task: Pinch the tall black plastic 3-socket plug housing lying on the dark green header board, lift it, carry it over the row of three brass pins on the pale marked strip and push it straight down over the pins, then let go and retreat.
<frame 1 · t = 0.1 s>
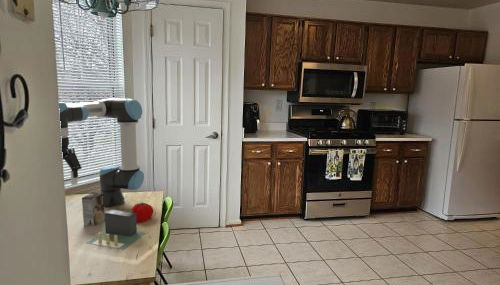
hand: (62, 183, 151), 28 cm above the table, fingers open, 13 cm apart
board: (117, 240, 156), on the table
housing: (121, 232, 162), point 1 cm above the table, touching board
tomato: (142, 221, 180), on the table
coffee box: (94, 224, 174), on the table
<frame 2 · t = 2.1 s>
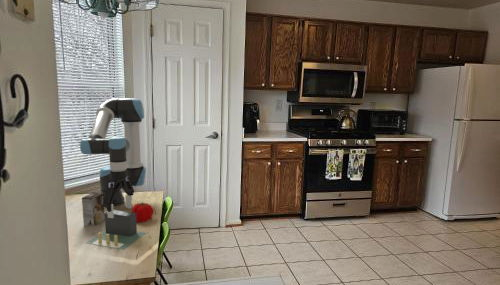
hand: (120, 212, 160), 12 cm above the table, fingers open, 13 cm apart
nothing on the table moved.
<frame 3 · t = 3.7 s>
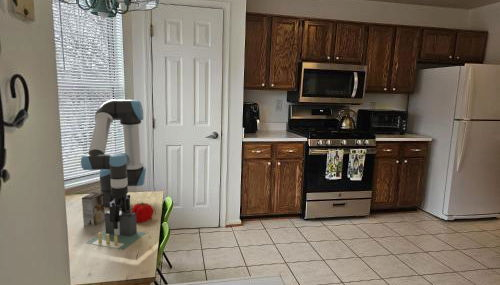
hand: (121, 231, 162), 2 cm above the table, fingers closed on board, 5 cm apart
nothing on the table moved.
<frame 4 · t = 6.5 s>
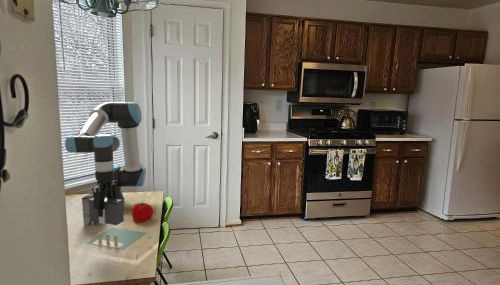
hand: (106, 220, 148), 13 cm above the table, fingers closed on housing, 5 cm apart
housing: (106, 221, 148), point 13 cm above the table, touching gripper
everything else where it was.
when the fingers open (2 cm above the table, at t = 9.3 s): housing stays where it is, resting on board.
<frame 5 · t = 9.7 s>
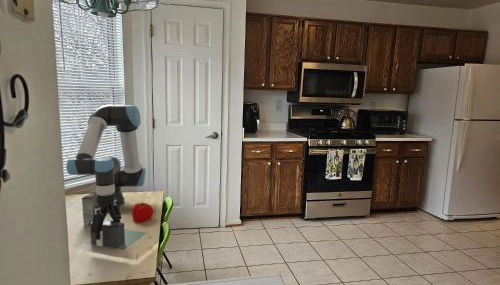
hand: (107, 240, 150), 3 cm above the table, fingers open, 10 cm apart
housing: (108, 243, 150), point 2 cm above the table, touching board
everything else where it was.
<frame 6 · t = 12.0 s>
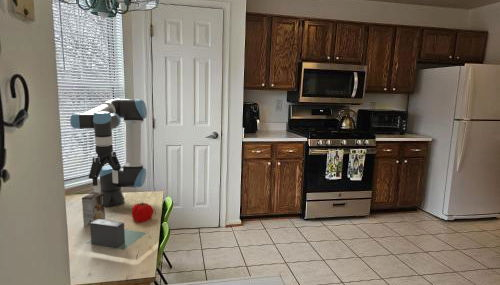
hand: (106, 187, 161), 23 cm above the table, fingers open, 13 cm apart
nothing on the table moved.
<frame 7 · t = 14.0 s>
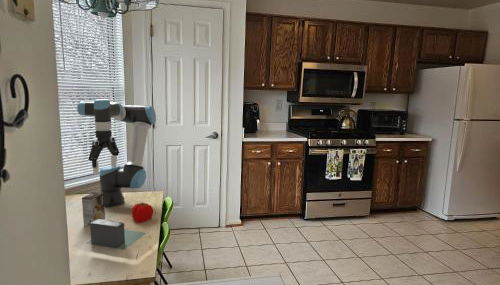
hand: (105, 170, 171), 29 cm above the table, fingers open, 13 cm apart
nothing on the table moved.
at the end: housing 0.0 cm from the target spot on the board, point 1.6 cm above the board's base; housing tilted 0°; the gripper is holding nothing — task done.
